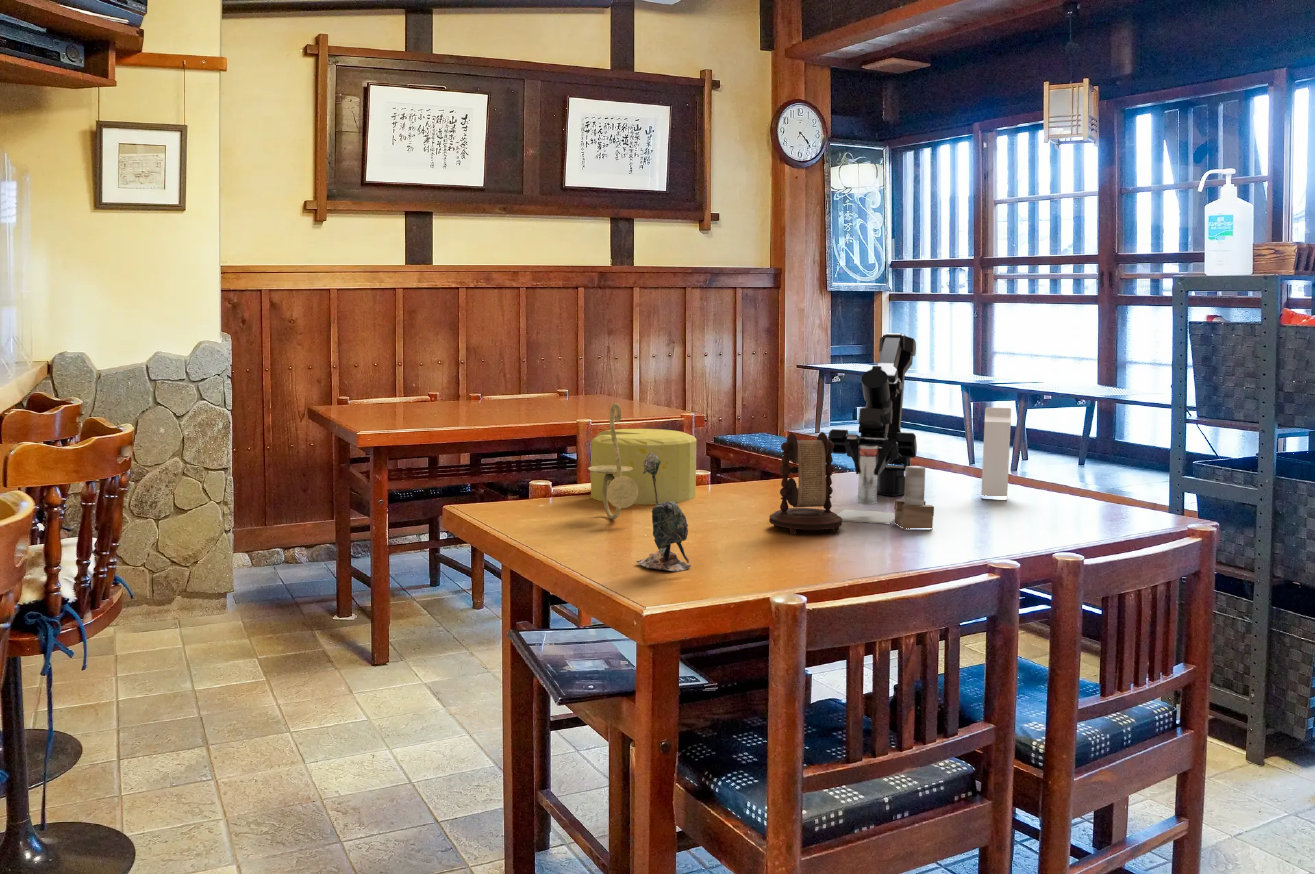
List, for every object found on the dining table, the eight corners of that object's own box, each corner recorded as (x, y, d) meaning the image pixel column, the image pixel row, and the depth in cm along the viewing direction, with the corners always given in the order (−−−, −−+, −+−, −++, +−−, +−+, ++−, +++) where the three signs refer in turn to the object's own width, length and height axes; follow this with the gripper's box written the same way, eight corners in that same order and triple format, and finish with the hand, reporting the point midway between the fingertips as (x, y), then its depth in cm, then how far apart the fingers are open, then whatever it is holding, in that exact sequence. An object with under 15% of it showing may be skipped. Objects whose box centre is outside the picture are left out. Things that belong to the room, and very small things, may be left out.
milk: (981, 495, 270) (984, 406, 268) (1007, 497, 268) (1010, 407, 266) (981, 499, 264) (984, 408, 262) (1007, 501, 263) (1011, 408, 260)
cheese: (565, 493, 266) (565, 432, 265) (647, 483, 284) (647, 425, 282) (635, 508, 247) (636, 442, 245) (718, 497, 264) (719, 434, 263)
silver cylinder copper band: (859, 500, 241) (861, 444, 240) (878, 502, 240) (880, 445, 238) (856, 503, 237) (857, 446, 236) (875, 505, 236) (877, 447, 235)
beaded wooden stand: (785, 538, 216) (787, 437, 214) (758, 524, 230) (760, 429, 228) (854, 535, 220) (857, 435, 218) (823, 521, 234) (826, 428, 232)
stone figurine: (659, 577, 183) (660, 458, 180) (631, 563, 193) (632, 450, 190) (702, 573, 186) (704, 456, 184) (673, 559, 196) (674, 448, 194)
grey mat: (844, 511, 247) (844, 509, 246) (898, 515, 242) (898, 513, 242) (833, 520, 235) (833, 518, 235) (890, 524, 231) (890, 522, 231)
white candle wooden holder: (893, 523, 233) (895, 464, 231) (921, 523, 233) (924, 464, 232) (904, 530, 225) (906, 470, 224) (933, 530, 225) (935, 470, 224)
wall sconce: (644, 524, 228) (645, 404, 226) (600, 526, 225) (601, 405, 222) (624, 512, 241) (625, 399, 239) (582, 514, 238) (583, 399, 236)
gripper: (831, 392, 243) (819, 448, 234) (917, 395, 236) (908, 453, 227) (836, 424, 251) (825, 479, 242) (920, 428, 245) (912, 485, 236)
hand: (867, 473), depth 237 cm, fingers closed on silver cylinder copper band, 4 cm apart
